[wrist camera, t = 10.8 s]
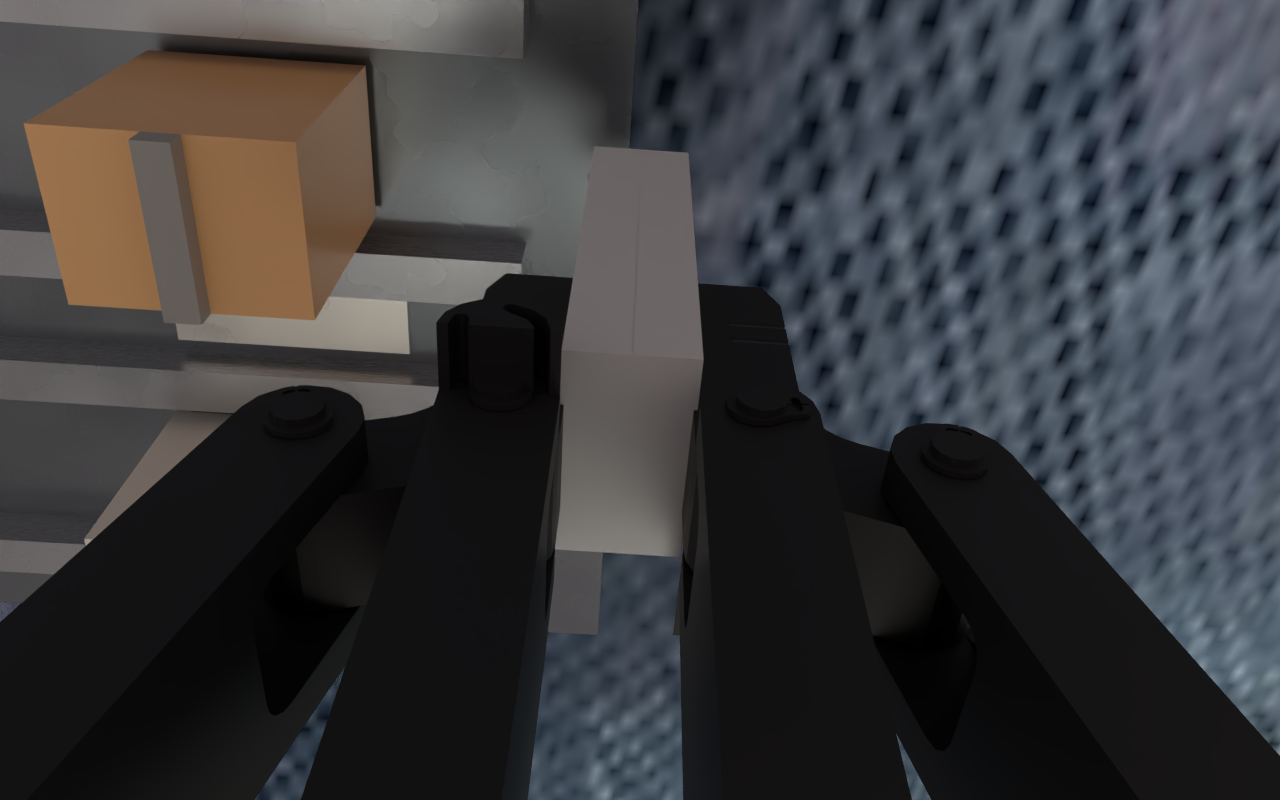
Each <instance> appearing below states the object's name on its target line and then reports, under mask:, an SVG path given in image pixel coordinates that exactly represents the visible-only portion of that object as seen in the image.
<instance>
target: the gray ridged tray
mask: <svg viewBox="0 0 1280 800" xmlns="http://www.w3.org/2000/svg"><path fill="white" fill-rule="evenodd" d="M638 4H639V0H0V602H13V603H22V602H24V601H25V600H26V599H27V598H28V597H29V596H30V595H31V594H32V593H34V592H35V591H36V590H37V589H38V588H39V587H40V586H41V585H43V584H44V583H45V582H46V581H47V580H48V579H49V578H50V577H51V576H53V575H54V574H55V573H56V572H57V571H58V570H59V569H60V568H62V567H63V566H64V565H65V564H66V563H67V562H68V561H69V560H70V559H72V558H73V557H74V556H75V555H76V554H77V553H78V552H79V551H80V550H82V549H83V548H84V547H85V546H86V545H85V541H84V538H85V537H86V535H87V534H88V533H89V531H90V530H91V529H92V527H93V526H94V524H95V523H96V522H97V520H98V519H99V517H100V516H101V515H102V513H103V512H104V511H105V509H106V508H107V506H108V505H109V504H110V502H111V501H112V499H113V498H114V497H115V495H116V494H117V492H118V491H119V490H120V488H121V487H122V486H123V484H124V483H125V481H126V480H127V479H128V477H129V476H130V474H131V473H132V472H133V470H134V469H135V467H136V466H137V465H138V463H139V462H140V461H141V459H142V458H143V456H144V455H145V454H146V452H147V451H148V449H149V448H150V447H151V445H152V444H153V443H154V441H155V440H156V438H157V437H158V436H159V434H160V433H161V431H162V430H163V429H164V427H165V426H166V424H167V423H168V422H169V420H170V419H171V418H172V416H173V415H174V413H175V412H176V411H186V412H203V413H219V414H233V413H235V412H236V411H237V410H238V409H239V408H240V407H241V406H243V405H245V404H246V403H248V402H249V401H251V400H253V399H254V398H256V397H257V396H259V395H262V394H265V393H268V392H271V391H274V390H278V389H280V388H284V387H290V386H295V387H296V386H298V385H312V386H321V387H331V388H334V389H337V390H340V391H342V392H345V393H348V394H350V395H351V396H353V397H354V398H355V399H356V400H357V401H358V402H359V403H361V404H362V408H363V412H364V417H365V420H372V419H380V418H388V417H395V416H400V415H406V414H411V413H414V412H417V411H420V410H423V409H426V408H429V407H430V406H432V405H434V402H435V399H436V396H437V393H438V390H439V383H438V359H437V335H436V322H437V321H438V320H439V318H440V317H441V316H442V315H443V314H444V312H446V311H448V310H450V309H452V308H454V307H456V306H458V305H460V304H462V303H466V302H471V301H476V300H480V299H483V297H484V294H485V291H486V289H487V288H488V287H489V286H490V285H492V284H493V283H494V282H496V281H497V280H498V279H500V278H501V277H502V276H503V275H505V274H506V273H512V274H527V275H541V276H556V277H570V278H573V275H574V269H575V263H576V257H577V250H578V244H579V238H580V232H581V225H582V219H583V213H584V207H585V201H586V194H587V188H588V182H589V176H590V169H591V163H592V157H593V151H594V146H600V147H613V148H627V149H629V144H630V128H631V113H632V97H633V82H634V66H635V51H636V35H637V20H638ZM147 50H155V51H169V52H183V53H197V54H211V55H225V56H239V57H253V58H267V59H281V60H295V61H309V62H323V63H337V64H351V65H365V66H366V80H367V94H368V109H369V123H370V137H371V152H372V166H373V180H374V194H375V209H376V218H375V220H374V221H373V223H372V225H371V226H370V228H369V230H368V231H367V233H366V235H365V237H364V238H363V240H362V242H361V243H360V245H359V247H358V248H357V250H356V252H355V253H354V255H353V257H352V259H351V260H350V262H349V264H348V265H347V267H346V269H345V270H344V272H343V274H342V275H341V277H340V279H339V281H338V282H337V284H336V286H335V287H334V289H333V291H332V292H331V294H330V296H329V297H328V299H327V301H326V303H325V304H324V306H323V308H322V309H321V311H320V313H319V314H318V316H317V318H316V319H315V320H301V319H286V318H270V317H254V316H239V315H223V314H210V315H209V316H208V318H207V319H206V320H205V322H204V323H203V324H202V325H193V324H177V323H164V320H163V315H162V311H161V310H145V309H129V308H114V307H98V306H83V305H69V304H68V300H67V296H66V292H65V288H64V284H63V280H62V276H61V272H60V268H59V264H58V260H57V256H56V252H55V248H54V244H53V240H52V236H51V232H50V228H49V224H48V220H47V216H46V212H45V208H44V204H43V200H42V196H41V191H40V187H39V183H38V179H37V175H36V171H35V167H34V163H33V159H32V155H31V151H30V147H29V143H28V139H27V135H26V131H25V127H24V123H25V122H27V121H29V120H30V119H32V118H34V117H35V116H37V115H39V114H40V113H42V112H44V111H46V110H47V109H49V108H51V107H52V106H54V105H56V104H57V103H59V102H61V101H62V100H64V99H66V98H68V97H69V96H71V95H73V94H74V93H76V92H78V91H79V90H81V89H83V88H85V87H86V86H88V85H90V84H91V83H93V82H95V81H96V80H98V79H100V78H101V77H103V76H105V75H107V74H108V73H110V72H112V71H113V70H115V69H117V68H118V67H120V66H122V65H124V64H125V63H127V62H129V61H130V60H132V59H134V58H135V57H137V56H139V55H141V54H142V53H144V52H146V51H147ZM602 561H603V552H589V551H573V550H557V549H555V568H554V584H553V593H552V601H551V609H550V617H549V626H548V632H554V633H572V634H590V635H598V623H599V608H600V592H601V577H602Z"/></svg>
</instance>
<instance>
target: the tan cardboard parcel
mask: <svg viewBox="0 0 1280 800" xmlns="http://www.w3.org/2000/svg"><path fill="white" fill-rule="evenodd" d="M24 127H25V131H26V135H27V139H28V143H29V147H30V151H31V155H32V159H33V163H34V167H35V171H36V175H37V179H38V183H39V187H40V191H41V196H42V200H43V204H44V208H45V212H46V216H47V220H48V224H49V228H50V232H51V236H52V240H53V244H54V248H55V252H56V256H57V260H58V264H59V268H60V272H61V276H62V280H63V284H64V288H65V292H66V296H67V300H68V304H69V305H83V306H98V307H114V308H129V309H145V310H161V311H162V315H163V320H164V323H177V324H193V325H202V324H203V323H204V322H205V320H206V319H207V318H208V316H209V315H210V314H223V315H239V316H254V317H270V318H286V319H301V320H315V319H316V318H317V316H318V314H319V313H320V311H321V309H322V308H323V306H324V304H325V303H326V301H327V299H328V297H329V296H330V294H331V292H332V291H333V289H334V287H335V286H336V284H337V282H338V281H339V279H340V277H341V275H342V274H343V272H344V270H345V269H346V267H347V265H348V264H349V262H350V260H351V259H352V257H353V255H354V253H355V252H356V250H357V248H358V247H359V245H360V243H361V242H362V240H363V238H364V237H365V235H366V233H367V231H368V230H369V228H370V226H371V225H372V223H373V221H374V220H375V218H376V209H375V194H374V180H373V166H372V152H371V137H370V123H369V109H368V94H367V80H366V66H365V65H351V64H337V63H323V62H309V61H295V60H281V59H267V58H253V57H239V56H225V55H211V54H197V53H183V52H169V51H155V50H147V51H146V52H144V53H142V54H141V55H139V56H137V57H135V58H134V59H132V60H130V61H129V62H127V63H125V64H124V65H122V66H120V67H118V68H117V69H115V70H113V71H112V72H110V73H108V74H107V75H105V76H103V77H101V78H100V79H98V80H96V81H95V82H93V83H91V84H90V85H88V86H86V87H85V88H83V89H81V90H79V91H78V92H76V93H74V94H73V95H71V96H69V97H68V98H66V99H64V100H62V101H61V102H59V103H57V104H56V105H54V106H52V107H51V108H49V109H47V110H46V111H44V112H42V113H40V114H39V115H37V116H35V117H34V118H32V119H30V120H29V121H27V122H25V123H24Z"/></svg>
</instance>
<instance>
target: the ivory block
mask: <svg viewBox="0 0 1280 800" xmlns="http://www.w3.org/2000/svg"><path fill="white" fill-rule="evenodd" d="M231 415H232V414H219V413H203V412H186V411H176V412H175V413H174V415H173V416H172V418H171V419H170V420H169V422H168V423H167V424H166V426H165V427H164V429H163V430H162V431H161V433H160V434H159V436H158V437H157V438H156V440H155V441H154V443H153V444H152V445H151V447H150V448H149V449H148V451H147V452H146V454H145V455H144V456H143V458H142V459H141V461H140V462H139V463H138V465H137V466H136V467H135V469H134V470H133V472H132V473H131V474H130V476H129V477H128V479H127V480H126V481H125V483H124V484H123V486H122V487H121V488H120V490H119V491H118V492H117V494H116V495H115V497H114V498H113V499H112V501H111V502H110V504H109V505H108V506H107V508H106V509H105V511H104V512H103V513H102V515H101V516H100V517H99V519H98V520H97V522H96V523H95V524H94V526H93V527H92V529H91V530H90V531H89V533H88V534H87V535H86V537H85V538H84V541H85V545H87V544H88V543H89V542H91V541H92V540H93V539H94V538H95V537H96V536H97V535H98V534H99V533H101V532H102V531H103V530H104V529H105V528H106V527H107V526H108V525H110V524H111V523H112V522H113V521H114V520H115V519H116V518H117V517H118V516H120V515H121V514H122V513H123V512H124V511H125V510H126V509H127V508H129V507H130V506H131V505H132V504H133V503H134V502H135V501H136V500H137V499H139V498H140V497H141V496H142V495H143V494H144V493H145V492H146V491H147V490H149V489H150V488H151V487H152V486H153V485H154V484H155V483H156V482H158V481H159V480H160V479H161V478H162V477H163V476H164V475H165V474H166V473H168V472H169V471H170V470H171V469H172V468H173V467H174V466H175V465H177V464H178V463H179V462H180V461H181V460H182V459H183V458H184V457H185V456H187V455H188V454H189V453H190V452H191V451H192V450H193V449H194V448H195V447H197V446H198V445H199V444H200V443H201V442H202V441H203V440H204V439H206V438H207V437H208V436H209V435H210V434H211V433H212V432H213V431H214V430H216V429H217V428H218V427H219V426H220V425H221V424H222V423H223V422H225V421H226V420H227V419H228V418H229V417H230V416H231Z"/></svg>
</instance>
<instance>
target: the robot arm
mask: <svg viewBox="0 0 1280 800" xmlns="http://www.w3.org/2000/svg"><path fill="white" fill-rule="evenodd" d="M784 327H785V325H784V320H783V316H782V311H781V307H780V305H779V304H778V303H777V302H776V301H775V300H774V299H773V298H772V297H771V296H770V295H768V294H767V293H766V292H765V291H764V290H763V289H762V288H755V287H741V286H726V285H712V284H698V277H697V263H696V250H695V236H694V223H693V209H692V195H691V182H690V168H689V155H688V153H683V152H669V151H655V150H641V149H627V148H613V147H600V146H594V151H593V157H592V163H591V169H590V176H589V182H588V188H587V194H586V201H585V207H584V213H583V219H582V225H581V232H580V238H579V244H578V250H577V257H576V263H575V269H574V275H573V278H570V277H556V276H541V275H527V274H512V273H506V274H505V275H503V276H502V277H501V278H500V279H498V280H497V281H496V282H494V283H493V284H492V285H490V286H489V287H488V288H487V289H486V291H485V294H484V297H483V299H480V300H476V301H471V302H466V303H462V304H460V305H458V306H456V307H454V308H452V309H450V310H448V311H446V312H444V314H443V315H442V316H441V317H440V318H439V320H438V321H437V322H436V335H437V359H438V383H439V390H438V393H437V396H436V399H435V402H434V405H432V406H430V407H429V408H426V409H423V410H420V411H417V412H414V413H411V414H406V415H400V416H395V417H388V418H380V419H372V420H365V417H364V412H363V408H362V404H361V403H359V402H358V401H357V400H356V399H355V398H354V397H353V396H351V395H350V394H348V393H345V392H342V391H340V390H337V389H334V388H331V387H321V386H312V385H298V386H296V387H295V386H290V387H284V388H280V389H278V390H274V391H271V392H268V393H265V394H262V395H259V396H257V397H256V398H254V399H253V400H251V401H249V402H248V403H246V404H245V405H243V406H241V407H240V408H239V409H238V410H237V411H236V412H235V413H233V414H232V415H231V416H230V417H229V418H228V419H227V420H226V421H225V422H223V423H222V424H221V425H220V426H219V427H218V428H217V429H216V430H214V431H213V432H212V433H211V434H210V435H209V436H208V437H207V438H206V439H204V440H203V441H202V442H201V443H200V444H199V445H198V446H197V447H195V448H194V449H193V450H192V451H191V452H190V453H189V454H188V455H187V456H185V457H184V458H183V459H182V460H181V461H180V462H179V463H178V464H177V465H175V466H174V467H173V468H172V469H171V470H170V471H169V472H168V473H166V474H165V475H164V476H163V477H162V478H161V479H160V480H159V481H158V482H156V483H155V484H154V485H153V486H152V487H151V488H150V489H149V490H147V491H146V492H145V493H144V494H143V495H142V496H141V497H140V498H139V499H137V500H136V501H135V502H134V503H133V504H132V505H131V506H130V507H129V508H127V509H126V510H125V511H124V512H123V513H122V514H121V515H120V516H118V517H117V518H116V519H115V520H114V521H113V522H112V523H111V524H110V525H108V526H107V527H106V528H105V529H104V530H103V531H102V532H101V533H99V534H98V535H97V536H96V537H95V538H94V539H93V540H92V541H91V542H89V543H88V544H87V545H86V546H85V547H84V548H83V549H82V550H80V551H79V552H78V553H77V554H76V555H75V556H74V557H73V558H72V559H70V560H69V561H68V562H67V563H66V564H65V565H64V566H63V567H62V568H60V569H59V570H58V571H57V572H56V573H55V574H54V575H53V576H51V577H50V578H49V579H48V580H47V581H46V582H45V583H44V584H43V585H41V586H40V587H39V588H38V589H37V590H36V591H35V592H34V593H32V594H31V595H30V596H29V597H28V598H27V599H26V600H25V601H24V602H22V603H21V604H20V605H19V606H18V607H17V608H16V609H15V610H13V611H12V612H11V613H10V614H9V615H8V616H7V617H6V618H5V619H3V620H2V621H1V622H0V800H254V799H255V798H256V796H257V795H258V793H259V792H260V790H261V789H262V787H263V786H264V784H265V783H266V782H267V780H268V779H269V777H270V776H271V774H272V773H273V771H274V770H275V768H276V767H277V765H278V764H279V762H280V761H281V759H282V758H283V756H284V755H285V753H286V752H287V751H288V749H289V748H290V746H291V745H292V743H293V742H294V740H295V739H296V737H297V736H298V734H299V733H300V731H301V730H302V728H303V727H304V725H305V724H306V722H307V721H308V720H309V718H310V717H311V715H312V714H313V712H314V711H315V709H316V708H317V706H318V705H319V703H320V702H321V700H322V699H323V697H324V696H325V694H326V693H327V691H328V690H329V689H330V687H331V686H332V684H333V683H334V681H335V680H336V678H337V677H338V675H339V674H340V672H341V671H342V669H343V668H344V666H345V665H346V667H345V670H344V673H343V676H342V679H341V682H340V685H339V688H338V691H337V694H336V697H335V700H334V703H333V706H332V709H331V712H330V715H329V718H328V721H327V724H326V727H325V730H324V733H323V736H322V739H321V742H320V745H319V747H318V750H317V753H316V756H315V759H314V762H313V765H312V768H311V771H310V774H309V777H308V780H307V783H306V786H305V789H304V792H303V795H302V798H301V800H527V799H528V791H529V783H530V774H531V766H532V758H533V750H534V741H535V733H536V725H537V717H538V708H539V700H540V692H541V684H542V675H543V667H544V659H545V651H546V642H547V634H548V626H549V617H550V609H551V601H552V593H553V584H554V568H555V549H557V550H573V551H589V552H605V553H621V554H637V555H653V556H669V557H681V549H682V540H683V556H682V565H681V573H680V582H679V590H678V599H677V607H676V615H675V624H674V632H673V635H680V662H681V711H682V760H683V800H912V799H911V795H910V790H909V786H908V782H907V778H906V774H905V769H904V765H903V761H902V757H901V752H900V748H899V744H898V740H897V736H896V734H897V735H898V737H899V739H900V741H901V743H902V745H903V747H904V749H905V751H906V752H907V754H908V756H909V758H910V760H911V762H912V764H913V766H914V768H915V769H916V771H917V773H918V775H919V777H920V779H921V781H922V783H923V785H924V786H925V788H926V790H927V792H928V794H929V796H930V798H931V800H1280V756H1279V754H1278V753H1277V752H1276V751H1275V750H1274V749H1273V748H1272V747H1271V745H1270V744H1269V743H1268V742H1267V741H1266V740H1265V739H1264V738H1263V736H1262V735H1261V734H1260V733H1259V732H1258V731H1257V730H1256V729H1255V727H1254V726H1253V725H1252V724H1251V723H1250V722H1249V721H1248V720H1247V718H1246V717H1245V716H1244V715H1243V714H1242V713H1241V712H1240V711H1239V709H1238V708H1237V707H1236V706H1235V705H1234V704H1233V703H1232V702H1231V700H1230V699H1229V698H1228V697H1227V696H1226V695H1225V694H1224V693H1223V691H1222V690H1221V689H1220V688H1219V687H1218V686H1217V685H1216V684H1215V682H1214V681H1213V680H1212V679H1211V678H1210V677H1209V676H1208V675H1207V673H1206V672H1205V671H1204V670H1203V669H1202V668H1201V667H1200V666H1199V664H1198V663H1197V662H1196V661H1195V660H1194V659H1193V658H1192V657H1191V655H1190V654H1189V653H1188V652H1187V651H1186V650H1185V649H1184V648H1183V646H1182V645H1181V644H1180V643H1179V642H1178V641H1177V640H1176V639H1175V637H1174V636H1173V635H1172V634H1171V633H1170V632H1169V631H1168V630H1167V628H1166V627H1165V626H1164V625H1163V624H1162V623H1161V622H1160V621H1159V619H1158V618H1157V617H1156V616H1155V615H1154V614H1153V613H1152V612H1151V610H1150V609H1149V608H1148V607H1147V606H1146V605H1145V604H1144V603H1143V601H1142V600H1141V599H1140V598H1139V597H1138V596H1137V595H1136V594H1135V592H1134V591H1133V590H1132V589H1131V588H1130V587H1129V586H1128V585H1127V583H1126V582H1125V581H1124V580H1123V579H1122V578H1121V577H1120V576H1119V574H1118V573H1117V572H1116V571H1115V570H1114V569H1113V568H1112V567H1111V565H1110V564H1109V563H1108V562H1107V561H1106V560H1105V559H1104V558H1103V556H1102V555H1101V554H1100V553H1099V552H1098V551H1097V550H1096V549H1095V547H1094V546H1093V545H1092V544H1091V543H1090V542H1089V541H1088V540H1087V538H1086V537H1085V536H1084V535H1083V534H1082V533H1081V532H1080V531H1079V529H1078V528H1077V527H1076V526H1075V525H1074V524H1073V523H1072V522H1071V520H1070V519H1069V518H1068V517H1067V516H1066V515H1065V514H1064V513H1063V511H1062V510H1061V509H1060V508H1059V507H1058V506H1057V505H1056V504H1055V502H1054V501H1053V500H1052V499H1051V498H1050V497H1049V496H1048V495H1047V493H1046V492H1045V491H1044V490H1043V489H1042V488H1041V487H1040V486H1039V484H1038V483H1037V482H1036V481H1035V480H1034V479H1033V478H1032V477H1031V475H1030V474H1029V473H1028V472H1027V471H1026V470H1025V469H1024V468H1023V466H1022V465H1021V464H1020V463H1019V462H1018V461H1017V460H1016V459H1015V457H1014V456H1013V455H1012V454H1011V453H1010V452H1008V451H1007V450H1006V449H1005V448H1004V447H1002V446H1001V445H1000V444H999V443H997V442H996V441H995V440H993V439H991V438H989V437H987V436H984V435H982V434H980V433H978V432H976V431H974V430H972V429H969V428H966V427H963V426H962V427H958V425H952V424H933V423H925V424H920V425H915V426H911V427H907V428H905V429H904V430H902V431H901V432H900V433H898V434H897V435H895V436H894V439H893V442H892V445H891V448H890V452H889V451H885V450H881V449H877V448H873V447H869V446H865V445H862V444H858V443H855V442H852V441H849V440H846V439H843V438H841V437H839V436H837V435H835V434H833V433H831V432H829V431H827V430H825V429H824V428H823V424H822V419H821V415H820V413H819V411H818V409H817V408H816V406H815V404H814V403H813V401H812V400H810V399H809V398H808V397H806V396H805V395H804V394H802V393H801V392H799V389H798V385H797V380H796V375H795V371H794V366H793V362H792V357H791V352H790V348H789V345H788V339H787V334H786V330H785V329H784ZM346 663H347V664H346Z"/></svg>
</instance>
